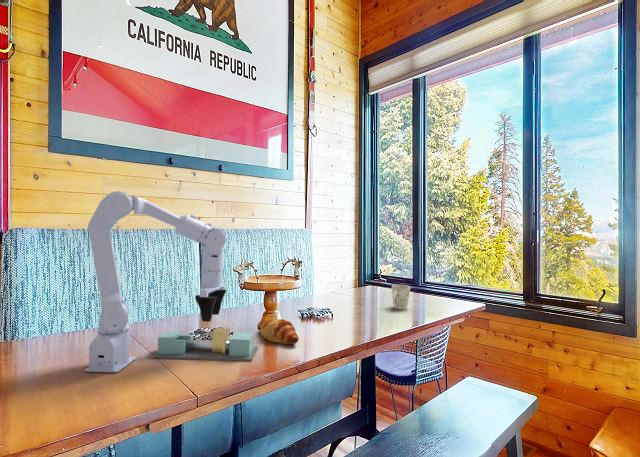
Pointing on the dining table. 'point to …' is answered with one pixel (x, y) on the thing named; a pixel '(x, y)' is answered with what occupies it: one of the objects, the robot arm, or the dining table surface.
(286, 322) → the croissant
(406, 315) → the dining table surface
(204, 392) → the dining table surface
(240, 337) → the guide
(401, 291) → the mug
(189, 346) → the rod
